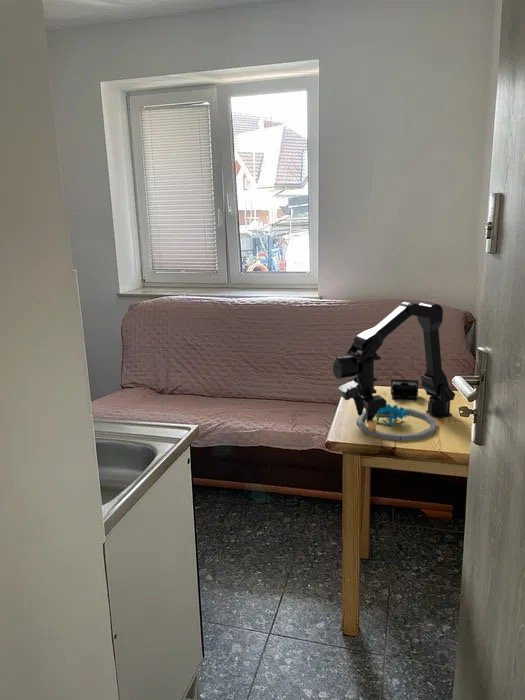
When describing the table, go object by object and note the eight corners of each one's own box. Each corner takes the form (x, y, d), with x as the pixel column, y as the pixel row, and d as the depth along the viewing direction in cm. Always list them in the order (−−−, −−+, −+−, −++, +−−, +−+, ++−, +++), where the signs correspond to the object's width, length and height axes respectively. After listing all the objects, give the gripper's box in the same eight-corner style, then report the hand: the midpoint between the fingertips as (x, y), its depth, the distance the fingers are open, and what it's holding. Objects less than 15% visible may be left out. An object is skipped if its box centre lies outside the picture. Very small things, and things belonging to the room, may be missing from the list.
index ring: (390, 406, 196) (391, 394, 195) (451, 426, 176) (452, 413, 175) (341, 424, 181) (341, 411, 180) (401, 447, 162) (401, 433, 161)
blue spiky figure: (410, 415, 182) (403, 402, 175) (409, 432, 179) (401, 419, 172) (378, 415, 187) (370, 402, 180) (376, 431, 185) (367, 418, 177)
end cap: (417, 394, 207) (418, 378, 205) (418, 401, 200) (418, 383, 199) (390, 393, 210) (391, 376, 208) (390, 399, 203) (390, 382, 201)
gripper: (330, 368, 179) (330, 412, 183) (354, 386, 161) (353, 434, 166) (361, 364, 182) (360, 407, 186) (388, 381, 164) (386, 429, 168)
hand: (364, 419), depth 176 cm, fingers open, 7 cm apart
